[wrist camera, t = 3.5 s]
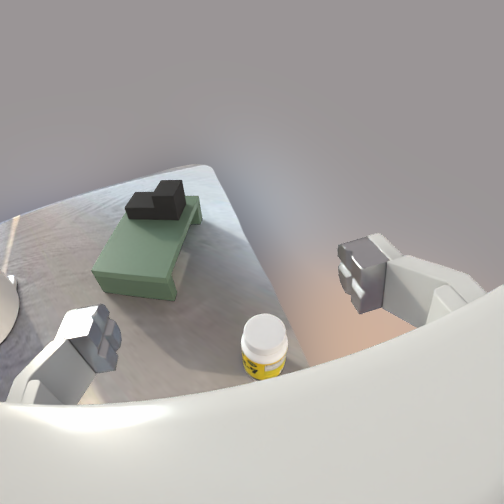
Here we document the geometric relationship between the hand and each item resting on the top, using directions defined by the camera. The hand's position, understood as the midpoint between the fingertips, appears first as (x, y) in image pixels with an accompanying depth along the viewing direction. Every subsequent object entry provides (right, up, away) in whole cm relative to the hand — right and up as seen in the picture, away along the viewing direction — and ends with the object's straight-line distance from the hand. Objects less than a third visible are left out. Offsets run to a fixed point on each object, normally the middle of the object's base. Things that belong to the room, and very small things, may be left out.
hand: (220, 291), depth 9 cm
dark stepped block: (-14, +8, +36) cm, 40 cm away
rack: (-15, +1, +37) cm, 40 cm away
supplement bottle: (+2, -12, +23) cm, 26 cm away
